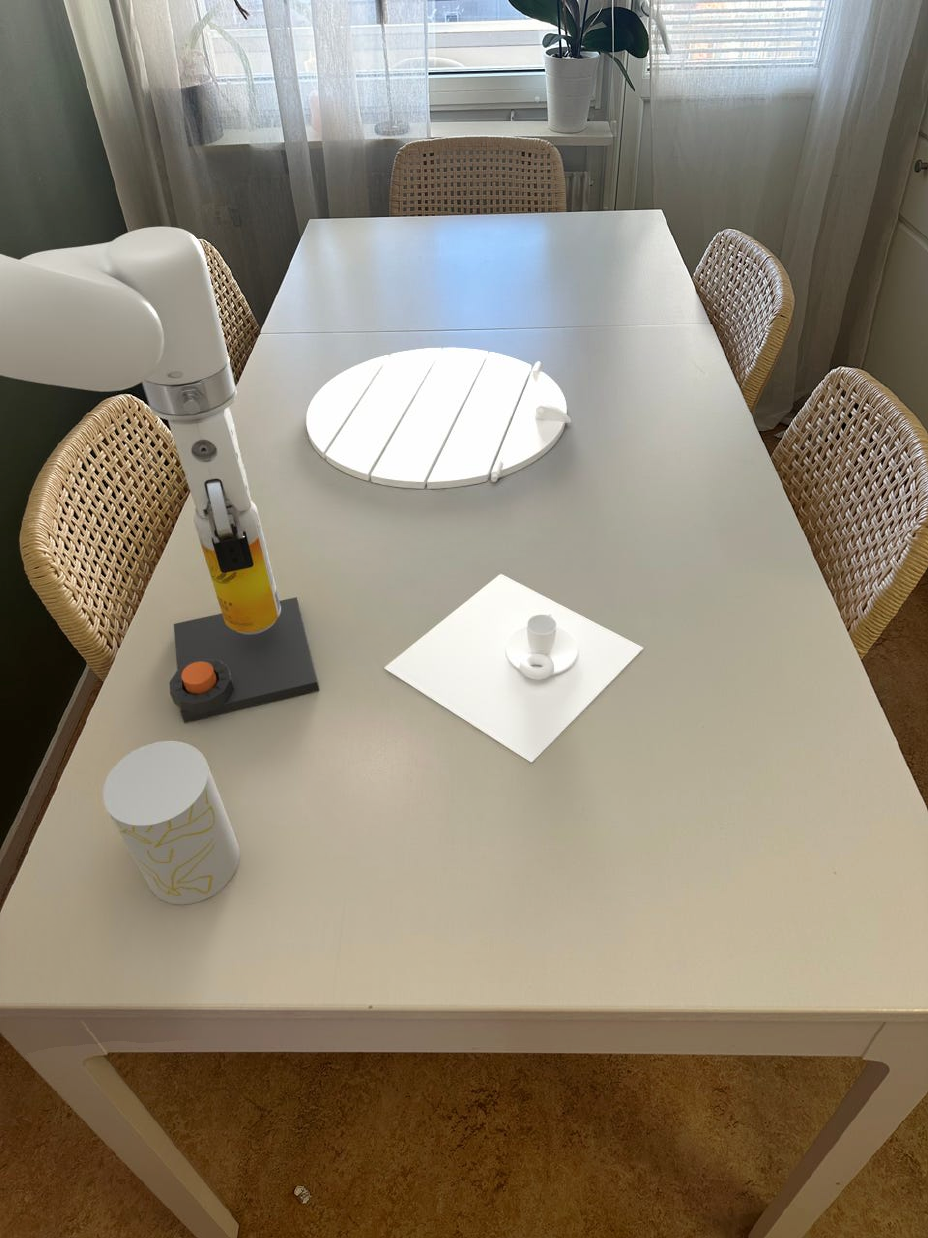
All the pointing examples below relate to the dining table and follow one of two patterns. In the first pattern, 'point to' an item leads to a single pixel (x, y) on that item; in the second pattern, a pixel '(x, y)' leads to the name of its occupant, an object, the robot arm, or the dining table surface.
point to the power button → (199, 677)
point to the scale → (243, 663)
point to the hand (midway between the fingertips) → (233, 546)
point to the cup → (173, 821)
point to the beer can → (243, 578)
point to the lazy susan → (436, 418)
